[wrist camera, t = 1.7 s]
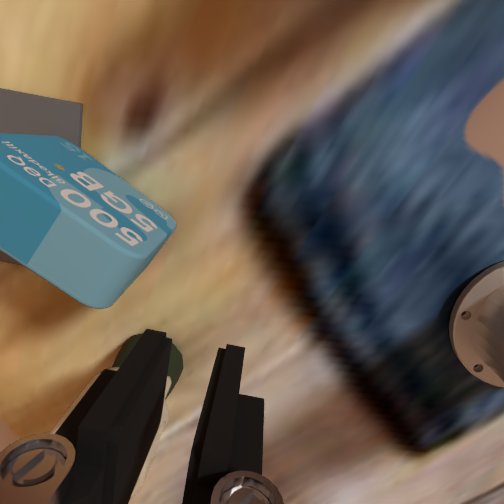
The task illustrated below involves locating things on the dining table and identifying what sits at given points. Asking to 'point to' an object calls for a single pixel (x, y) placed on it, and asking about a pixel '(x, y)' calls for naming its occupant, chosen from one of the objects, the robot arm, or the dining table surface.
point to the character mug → (172, 378)
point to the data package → (75, 219)
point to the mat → (38, 121)
